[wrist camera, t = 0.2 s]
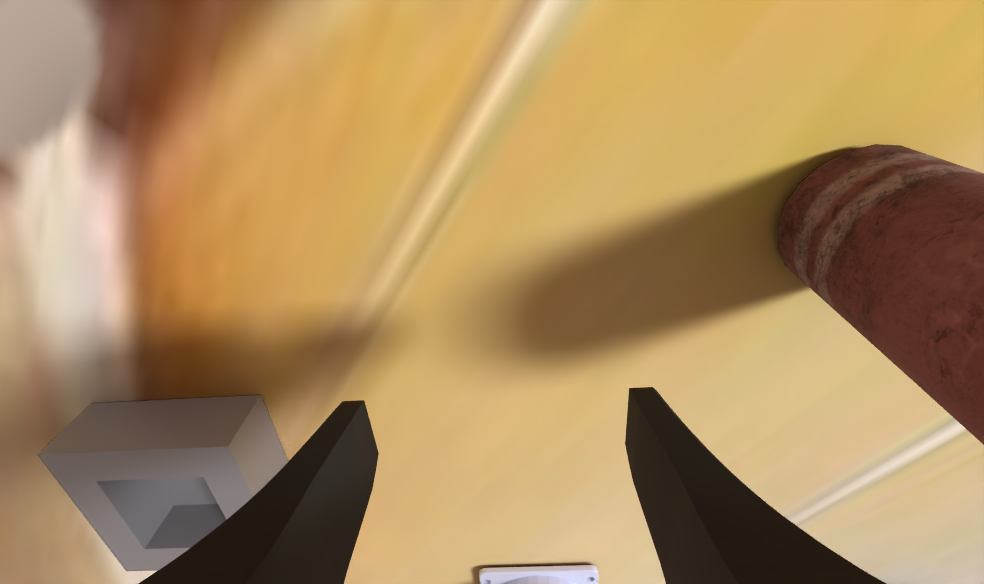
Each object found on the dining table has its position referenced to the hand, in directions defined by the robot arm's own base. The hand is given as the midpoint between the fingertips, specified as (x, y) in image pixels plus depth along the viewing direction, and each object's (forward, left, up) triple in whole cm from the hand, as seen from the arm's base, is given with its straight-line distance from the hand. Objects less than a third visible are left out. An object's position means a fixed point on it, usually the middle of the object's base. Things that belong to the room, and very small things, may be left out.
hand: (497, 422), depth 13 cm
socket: (-12, +18, -10) cm, 24 cm away
